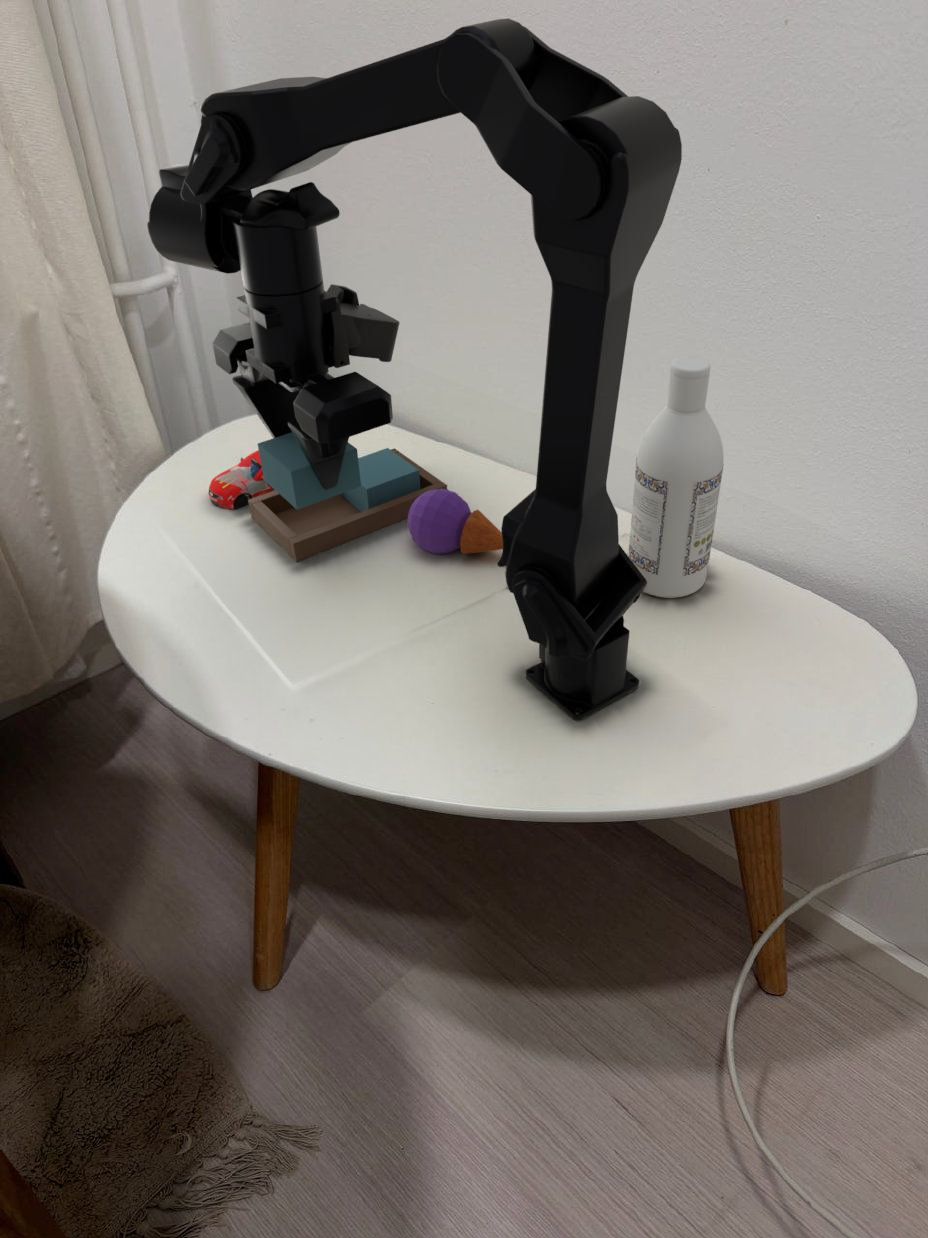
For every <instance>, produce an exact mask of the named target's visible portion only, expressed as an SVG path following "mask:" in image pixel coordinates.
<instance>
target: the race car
mask: <svg viewBox="0 0 928 1238" xmlns="http://www.w3.org/2000/svg"><path fill="white" fill-rule="evenodd" d="M272 491H275V489H273V488H272V487H271V486H270V485H269V484H268V483H267V482H266V481H265V480H264V476H263V470H262V465H261V460H260V454H259V449H257V450H256V451H253V452H251V453H250V454H249V455H247V456H245V457H240V462H238V464H236V465H233V466H231V468H228V469H226V470H225V471H223V472H220V473H219V474H217V475H216V476H214V477H213V478H212V479H211V481H210V483H209V486H208V497H209V500H210V502H211V503H212V504H213V505H214V506H216V507H218V508H221V509H225V510H226V509H227V510H234V509H236V510H239V509H240V508H241V509H242V508H243V507H246V506H249V503H248V500H249V499H252V498H255V497H257V496H260V495H263V494H266V493H269V492H272Z"/></svg>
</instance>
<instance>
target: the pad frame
mask: <svg viewBox="0 0 928 1238" xmlns="http://www.w3.org/2000/svg"><path fill="white" fill-rule="evenodd" d="M390 450H392V451H393V452H394V453H396V454H397V455H399V456H400V457H401V458H403V459H404V460H406V461H407V462H408V463H410V464H411V465H413V466H414V467H415V468H417V469H418V470H419V477H420V490H418V491H415V492H412V493H410V494H407V495H404V496H402V497H399V498H397V499H394V500H391V501H389V502H386V503H383V504H381V505H378V506H376V507H373V508H370V509H368V510H365V511H362V512H360V511H359V510H358V509H357V508H356V507H354V506H353V505H352V504H351V503H350V502H348V501H347V500H346V499H345V498H344V497H342V496H341V494H339V495H336V496H333V497H331V498H328V499H325V500H323V501H320V502H317V503H315V504H312V505H309V506H306V507H304V508H301V509H298V510H297V509H296V508H295V507H294V506H292V505H291V504H290V503H289V502H288V501H287V500H286V499H285V498H284V497H282V496H281V495H280V494H279V493H278V492H277V491H276V490H275V491H272V492H269V493H266V494H263V495H260V496H257V497H255V498H252V499H249V500H248V503H249V505H248V508H249V513H250V518H251V519H252V520H253V521H254V522H255V523H256V524H257V525H258V526H259V527H260V528H261V529H262V530H263V531H264V532H265V533H266V534H267V535H268V536H269V537H270V538H271V539H272V540H273V541H274V542H275V543H277V545H278V546H279V547H280V548H281V549H282V550H283V551H284V552H285V553H286V554H287V555H288V556H289V557H290V558H291V559H292V560H293V561H295V563H299V562H301V561H304V560H307V559H309V558H312V557H314V556H317V555H319V554H322V553H326V552H328V551H330V550H332V549H335V548H338V547H339V546H342V545H345V544H347V543H351V542H353V541H355V540H357V539H360V538H362V537H365V536H368V535H370V534H373V533H375V532H378V531H381V530H383V529H385V528H388V527H392V526H394V525H396V524H399V523H400V522H403V521H406V520H407V519H408V514H409V510H410V508H411V505H412V504H413V502H414V501H415V500H416V499H417V498H418V497H419V496H421V495H422V494H424V493H425V492H427V491H430V490H437V489H446V490H448V484H446V483H445V482H443V481H442V480H440V479H439V478H438V477H436V476H435V475H434V474H432V473H430V472H429V471H428V470H426V469H425V468H424V467H422V466H421V465H419V464H417V462H415V461H413V460H412V459H410V457H407V456H406V455H405V454H404V453H402V452H400V451H399V450H398V449H396V448H392V449H390Z"/></svg>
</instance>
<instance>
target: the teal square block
mask: <svg viewBox="0 0 928 1238" xmlns="http://www.w3.org/2000/svg"><path fill="white" fill-rule="evenodd" d="M358 462H359V471H360V479H361V486H360V487H358V488H355V489H352V490H350V491H347V492H344V493H342V494H341V496H342V497H344V498H345V499H346V500H347V501H348V502H350V503H351V504H352V505H353V506H354V507H356V508H357V509H358V510H359V511H360V512H362V511H365V510H368V509H370V508H373V507H376V506H378V505H381V504H383V503H386V502H389V501H391V500H394V499H397V498H399V497H402V496H404V495H407V494H410V493H412V492H415V491H418V490H420V477H419V470H418V469H417V468H415V467H414V466H413V465H411V464H410V463H408V462H407V461H406V460H404V459H403V458H401V457H400V456H399V455H397V454H396V453H394V452H393V451H392V450H391V449H390V448H389V447H386V448H383V449H380V450H377V451H375V452H372V453H370V454H369V453H368V454H366V455H363V456H359V457H358Z"/></svg>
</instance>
